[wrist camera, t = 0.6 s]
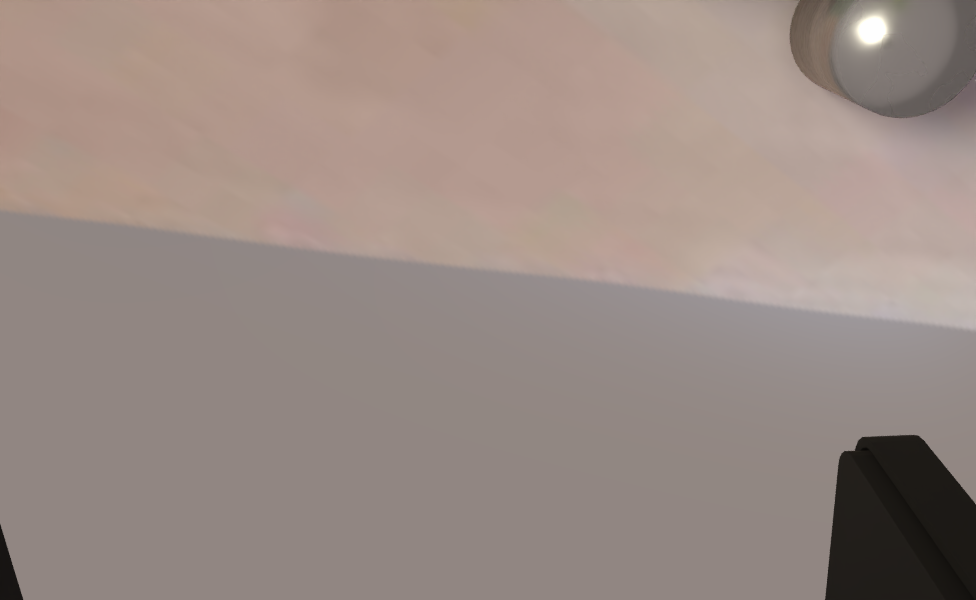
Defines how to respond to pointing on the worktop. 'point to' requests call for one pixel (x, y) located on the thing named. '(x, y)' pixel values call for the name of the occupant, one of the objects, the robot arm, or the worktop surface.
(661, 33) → the worktop surface
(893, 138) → the worktop surface
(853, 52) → the metal tin
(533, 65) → the worktop surface
